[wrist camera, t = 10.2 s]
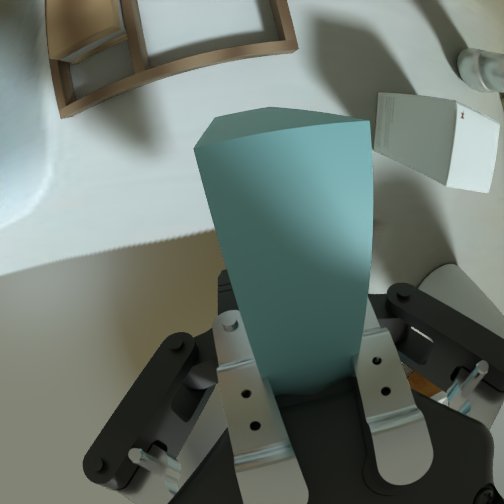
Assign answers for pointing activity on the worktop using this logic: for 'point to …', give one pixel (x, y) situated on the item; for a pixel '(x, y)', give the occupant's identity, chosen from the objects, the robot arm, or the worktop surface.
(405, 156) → the supplement box
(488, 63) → the plastic bottle
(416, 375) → the disposable coffee cup
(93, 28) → the oak offcut top
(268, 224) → the teal block
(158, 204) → the worktop surface
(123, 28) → the grey flat panel
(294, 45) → the tray
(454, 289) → the cylinder vase
